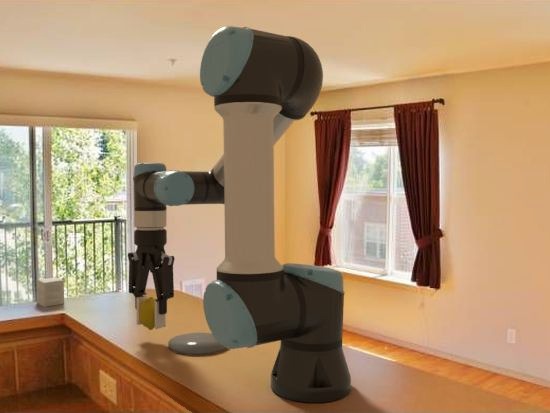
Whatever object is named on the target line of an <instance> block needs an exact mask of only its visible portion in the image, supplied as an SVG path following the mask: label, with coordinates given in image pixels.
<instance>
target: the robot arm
mask: <svg viewBox="0 0 550 413" xmlns="http://www.w3.org/2000/svg"><path fill="white" fill-rule="evenodd" d="M199 79H200V85H201V86H202V90H203V92H205V94H207V95H209V97H213V100H214V101H213V102H214V104H213V107H214V111H215V112H216V113H217V114H218V115H219V116H220V117H221V118H222V120H223V121H222V122H223V126H222V128H223V131H222V133H223V154H222V155H221V156H220V158H219V159H218V161H217V163H216V164H215V165H214V166H213V167H212V169H211V170H209V171H202V170H201V171H192V170H191V171H189V170H188V171H186V170H185V171H183V170H182V171H181V170H167V166H166V164H165V163H162V162H161V163H160V162H139V163H136V164H135V165H134V167H133V169H134V170H133V177H132V179H133V227H134V228H136V229H134V231H133V234H134V235H133V243H134V245H135V246H136V247H137V248H136V250H135V251H133V252H128V253H127V258H128V293H129V294H132V295H133V296H134V297H135V298H134V299H135V300H134V301H135V302H134V304H135V305H134V308H135V310H136V325H138V326H140V325H142V323H141V322H140V319H139V310H140V306H141V304H142V303H143V301H145V300H146V299H148V295H147V294H148V292H146V289H147V284H148V280H149V273H151V275H152V279H153V284H154V289H155V295H156V298H154V299H155V327H154V329H155V330H158V329H159V330H160V329H162V328H165V327H166V314H167V313H168V300H169V299H172V298H174V296H175V291H174V290H175V287H174V263H175V256H174V255H168V254H166V250H165V246H166V245H167V240H168V238H167V235H168V234H167V233H168V230H167V229H166V227H167V207H173V206H174V207H179V206H185V205H187V206H188V205H189V206H190V205H224V259H223V260H222V262H221V263H220V264H218V266H217V267H216V279H215V280H212V281H211V282H210V283H208V284H207V286H206V287H205V289H204V290H205V291H204V293H203V297H202V298H203V300H202V305H203V312H204V317H205V321H206V323H207V326H208V328H209V330H210V333H212V334H213V336H214V337H215V338H216V340H217V341H218V342H219V343H220V344H222V345H223V346H225V347H227V349H229V350H230V349H231V350H235V349H243V348H247V349H250V348H254V347H255V346H260V345H264V344H269V343H270V344H271V343H273V342H274V343H275V342H280V345H279V350H278V352H277V355H276V359H275V361H274V363H273V364H274V365H273V366H272V370H271V372H270V388H271V391H273V392H274V393H275V394H276V395H278V396H279V397H283V398H284V399H287V400H292V401H294V402H295V401H296V402H300V403H301V402H302V403H326V402H327V403H328V402H333V401H337V400H340V399H342V398H343V399H344V398H345V397H346V396H348V395H349V394H350V392H351V391H352V390H351V389H352V386H351V385H352V376H351V373H350V369H349V366H348V363H347V361H346V356H345V353H344V349H343V336H344V335H343V332H344V331H343V329H344V307H345V306H344V303H345V299H344V298H345V294H346V292H345V291H344V277H343V274H342V273H341V272H340V271H339V270H337V269H335V268H330V267H327V266H320V265H313V264H303V263H283V265H282V264H281V263H280V262H279V260H277V258H276V254H275V253H276V252H275V250H276V249H275V248H276V246H275V243H276V242H275V241H276V240H275V171H274V169H275V167H274V166H275V165H274V163H275V162H274V160H275V159H274V158H275V157H274V156H275V155H274V154H275V153H274V152H275V151H274V146H275V145H276V144H277V142H278V141H279V140H280V139H281V138H282V137H283V135H284V134H285V133H286V132H287V130H288V129H289V128H290V127H291V125H292V124H293V123H294V122H295V121H300V120H302V119H304V118H305V117H306V116H307V114H308V113H309V112H310V111H311V109H312V108H313V107H314V105H315V104H316V102H317V100H318V99H319V96H320V94H321V90H322V87H323V83H324V82H323V81H324V71H323V65H322V62H321V60H320V56H319V54H318V53H317V52H316V50H315V49H314V48H313V47H312V46H311V44H309V43H308V42H306V41H304V40H303V39H301V38H298V37H295V36H292V35H291V36H290V35H289V36H288V35H286V36H285V35H282V34H278V33H272V32H268V31H264V30H263V31H262V30H259V29H253V28H251V27H248V26H243V27H240V26H239V27H238V26H233V25H232V26H231V25H229V26H228V25H227V26H224V27H222V28H220V29H218V30H217V31H215V32H214V34H213V35H212V36H211V37H210V39H209V40H208V41H207V45H206V46H205V48H204V51H203V54H202V56H201V62H200V68H199Z"/></svg>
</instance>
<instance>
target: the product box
mask: <svg viewBox="0 0 550 413" xmlns="http://www.w3.org/2000/svg"><path fill="white" fill-rule="evenodd" d="M36 303H37V304H38V305H40V306H42V307H43V308H44V307H45V308H46V307H51V306H58V305H63V304H65V280H64V279H61V278H58V277H49V278H40V279H38V278H37V279H36Z"/></svg>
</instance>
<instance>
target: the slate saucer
mask: <svg viewBox="0 0 550 413" xmlns="http://www.w3.org/2000/svg"><path fill="white" fill-rule="evenodd" d="M167 343H168V344H167V345H168V349H169V351H171V352H173V353H175V352H176V353H175V354H179V355H185V356H207V355H208V356H209V355H213V354H218V353H220V352H224V351H226V350H227V349H228V348H227V347H225V346H223V345H222V344H220V343H219V342H218V341H217V340H216V338H215V337H214V336H213V334H212V332H189V333H183V334H178V335H176V336H174V337H171V338H170V339H169V340H168V342H167Z"/></svg>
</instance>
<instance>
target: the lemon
mask: <svg viewBox="0 0 550 413" xmlns="http://www.w3.org/2000/svg"><path fill="white" fill-rule="evenodd" d="M155 299H156V298H154V297H153V296H149V297H147V299H146V300H145V301H143V303H142V304H141V306H140V310H139V319H140V322H141V323H142V324H141V325H143V327H144V328H145V327H146V328H147V329H148V330H149V331H152V330H154V329H155Z"/></svg>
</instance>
